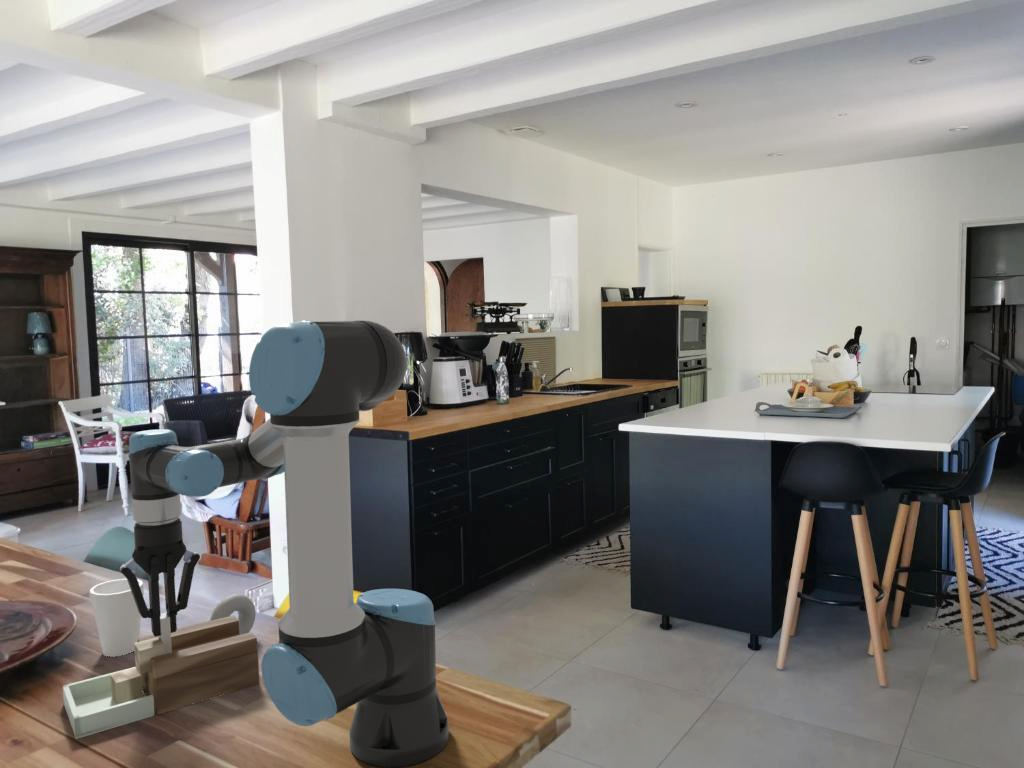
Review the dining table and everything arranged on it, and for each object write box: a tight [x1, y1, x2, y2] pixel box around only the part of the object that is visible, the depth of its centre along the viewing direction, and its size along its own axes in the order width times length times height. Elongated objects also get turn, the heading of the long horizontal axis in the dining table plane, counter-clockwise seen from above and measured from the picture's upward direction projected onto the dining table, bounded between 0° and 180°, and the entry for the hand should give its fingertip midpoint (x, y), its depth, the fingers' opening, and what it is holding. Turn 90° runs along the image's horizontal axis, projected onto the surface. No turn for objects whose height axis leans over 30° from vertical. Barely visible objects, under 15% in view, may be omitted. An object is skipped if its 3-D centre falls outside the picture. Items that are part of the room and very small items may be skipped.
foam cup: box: [89, 578, 145, 658], centre depth 154 cm, size 10×9×13 cm
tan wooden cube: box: [110, 667, 144, 705], centre depth 133 cm, size 4×4×4 cm
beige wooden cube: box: [134, 637, 165, 674], centre depth 133 cm, size 4×4×4 cm
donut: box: [209, 593, 256, 635], centre depth 156 cm, size 10×4×10 cm, turn 146°
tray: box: [62, 666, 155, 740], centre depth 131 cm, size 14×12×3 cm
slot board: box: [137, 614, 260, 715], centre depth 139 cm, size 14×17×8 cm
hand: (165, 651), depth 136 cm, fingers closed
